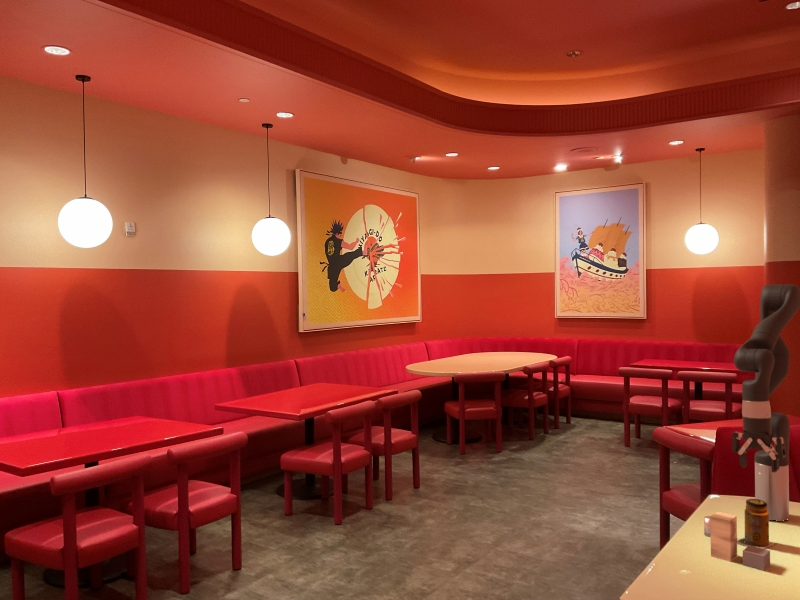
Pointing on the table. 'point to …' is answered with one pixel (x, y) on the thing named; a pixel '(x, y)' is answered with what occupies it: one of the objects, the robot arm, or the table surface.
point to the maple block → (723, 536)
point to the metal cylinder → (707, 526)
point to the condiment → (756, 525)
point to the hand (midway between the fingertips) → (759, 469)
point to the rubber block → (756, 558)
